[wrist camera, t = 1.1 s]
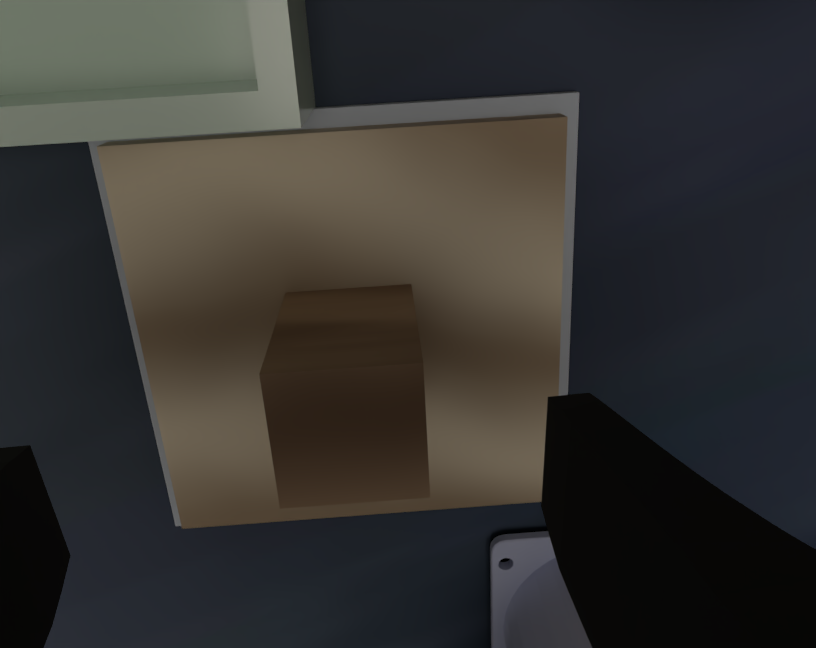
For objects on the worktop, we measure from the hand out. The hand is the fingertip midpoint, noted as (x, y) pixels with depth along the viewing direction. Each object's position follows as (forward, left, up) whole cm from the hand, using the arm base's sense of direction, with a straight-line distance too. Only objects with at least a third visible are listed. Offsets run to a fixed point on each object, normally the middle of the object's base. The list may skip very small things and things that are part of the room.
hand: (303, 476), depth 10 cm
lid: (-3, 0, -11) cm, 11 cm away
